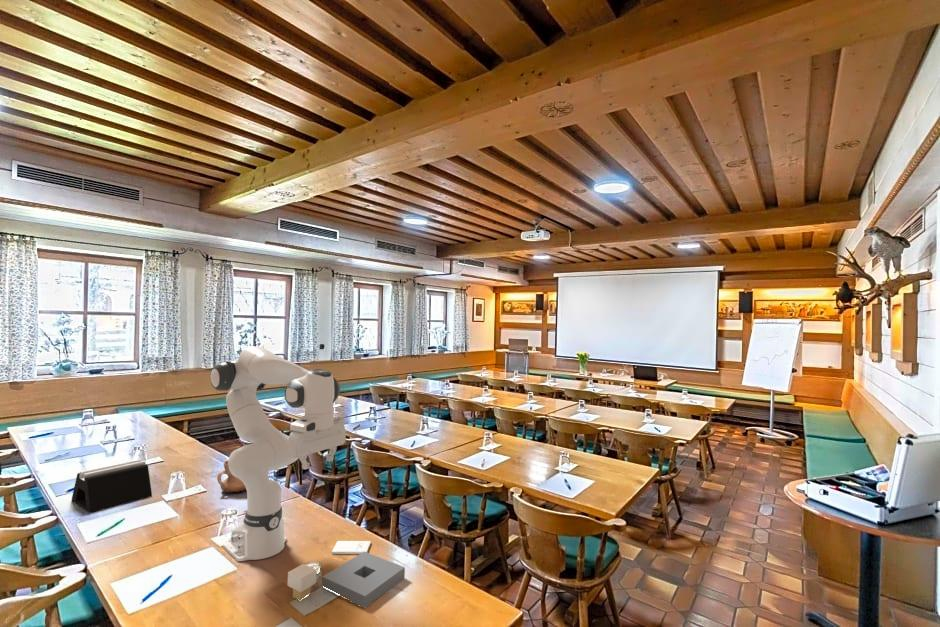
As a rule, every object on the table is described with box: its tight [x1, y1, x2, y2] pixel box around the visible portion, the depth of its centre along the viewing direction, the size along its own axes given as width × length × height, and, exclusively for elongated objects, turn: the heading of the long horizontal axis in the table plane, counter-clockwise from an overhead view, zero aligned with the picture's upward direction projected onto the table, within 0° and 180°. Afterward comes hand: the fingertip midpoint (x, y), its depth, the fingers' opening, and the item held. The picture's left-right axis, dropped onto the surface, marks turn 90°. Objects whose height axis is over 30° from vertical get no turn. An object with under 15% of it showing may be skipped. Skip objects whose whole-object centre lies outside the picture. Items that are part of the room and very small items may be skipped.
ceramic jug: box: [216, 459, 247, 494], centre depth 212 cm, size 18×14×14 cm
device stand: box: [71, 458, 153, 514], centre depth 199 cm, size 22×22×15 cm
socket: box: [321, 552, 406, 609], centre depth 138 cm, size 18×18×4 cm
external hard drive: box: [331, 540, 372, 554], centre depth 159 cm, size 2×8×12 cm
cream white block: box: [287, 563, 317, 601], centre depth 131 cm, size 6×6×8 cm
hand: (318, 464), depth 138 cm, fingers open, 8 cm apart
